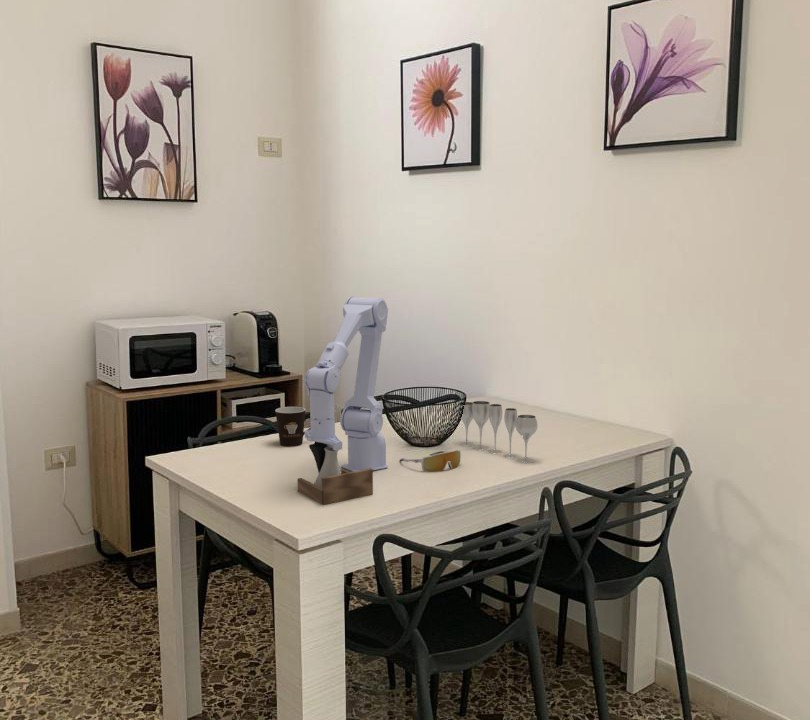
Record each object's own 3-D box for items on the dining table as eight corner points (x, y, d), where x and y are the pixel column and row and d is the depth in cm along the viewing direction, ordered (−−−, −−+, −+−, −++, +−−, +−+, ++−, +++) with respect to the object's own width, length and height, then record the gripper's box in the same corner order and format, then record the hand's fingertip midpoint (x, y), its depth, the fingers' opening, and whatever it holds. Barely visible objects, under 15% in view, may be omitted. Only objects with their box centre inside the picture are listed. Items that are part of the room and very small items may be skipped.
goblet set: (453, 444, 238) (454, 398, 236) (468, 440, 242) (468, 396, 240) (526, 464, 217) (527, 415, 215) (541, 460, 221) (542, 412, 219)
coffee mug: (271, 446, 236) (270, 412, 234) (283, 439, 244) (282, 406, 242) (310, 449, 233) (309, 414, 231) (320, 441, 241) (319, 408, 240)
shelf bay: (344, 481, 203) (344, 457, 202) (372, 494, 193) (372, 469, 192) (297, 490, 195) (297, 466, 194) (324, 504, 185) (323, 479, 184)
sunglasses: (427, 475, 208) (425, 456, 207) (393, 470, 220) (392, 451, 220) (470, 466, 216) (469, 447, 216) (435, 462, 228) (434, 444, 228)
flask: (328, 478, 201) (331, 440, 198) (350, 488, 197) (353, 449, 194) (307, 487, 195) (309, 447, 193) (329, 497, 191) (332, 457, 188)
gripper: (293, 414, 199) (294, 468, 201) (323, 425, 187) (324, 483, 189) (318, 410, 203) (319, 464, 205) (349, 421, 191) (350, 478, 194)
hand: (323, 473), depth 198 cm, fingers closed
